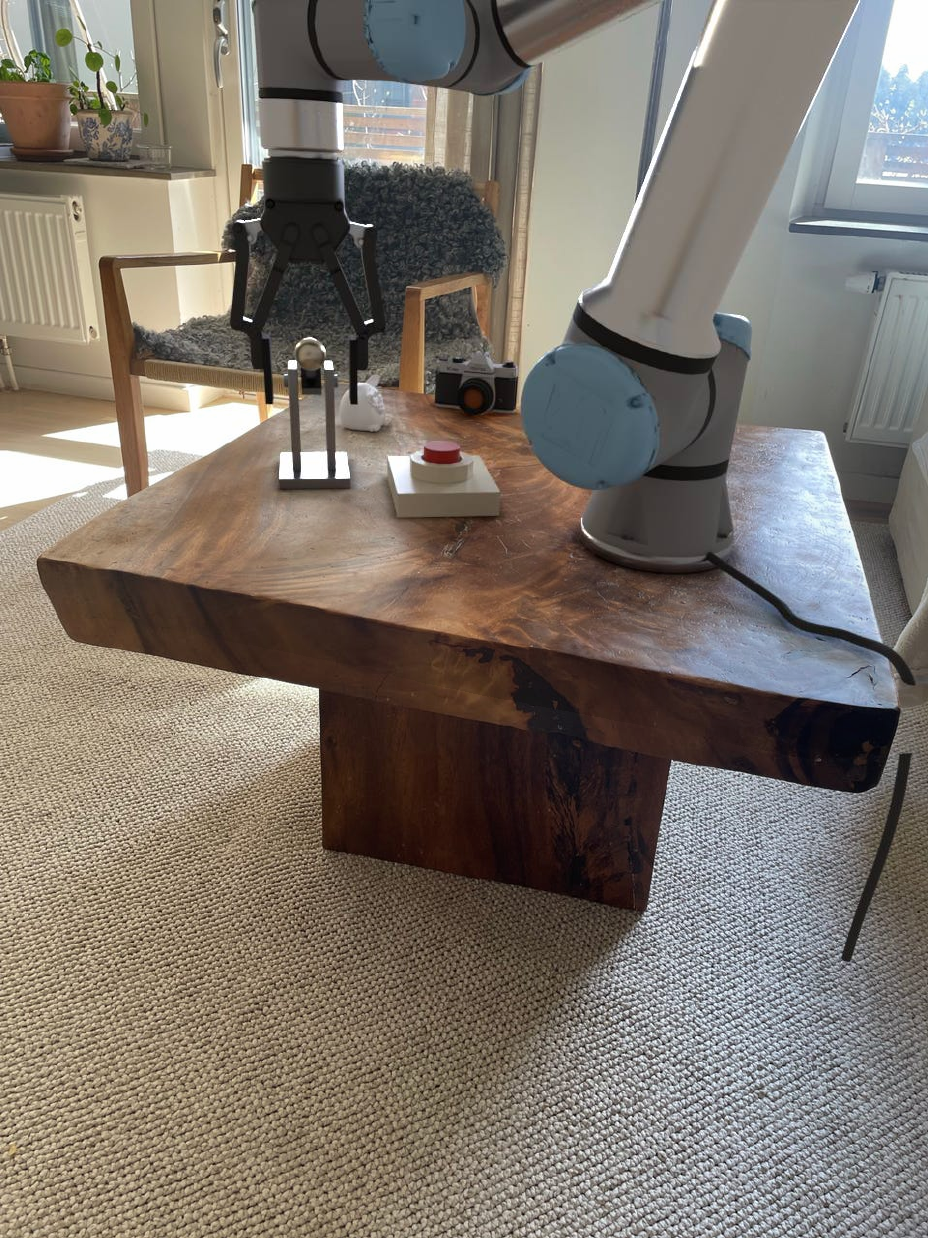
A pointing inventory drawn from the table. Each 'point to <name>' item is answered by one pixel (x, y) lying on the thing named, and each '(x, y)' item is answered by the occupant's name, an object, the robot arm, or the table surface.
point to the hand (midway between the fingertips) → (311, 400)
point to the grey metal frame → (313, 466)
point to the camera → (476, 384)
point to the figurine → (364, 408)
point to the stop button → (442, 452)
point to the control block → (441, 487)
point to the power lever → (310, 364)
